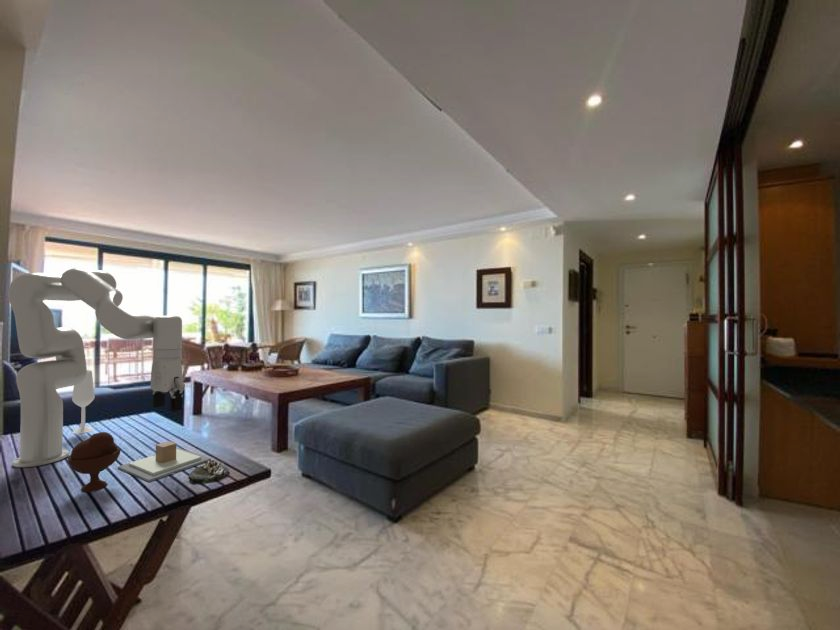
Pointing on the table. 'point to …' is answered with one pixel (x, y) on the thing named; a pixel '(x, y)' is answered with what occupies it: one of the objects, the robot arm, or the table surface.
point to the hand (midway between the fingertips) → (167, 408)
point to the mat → (149, 477)
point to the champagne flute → (84, 399)
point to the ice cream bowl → (94, 458)
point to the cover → (164, 459)
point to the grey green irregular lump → (209, 472)
